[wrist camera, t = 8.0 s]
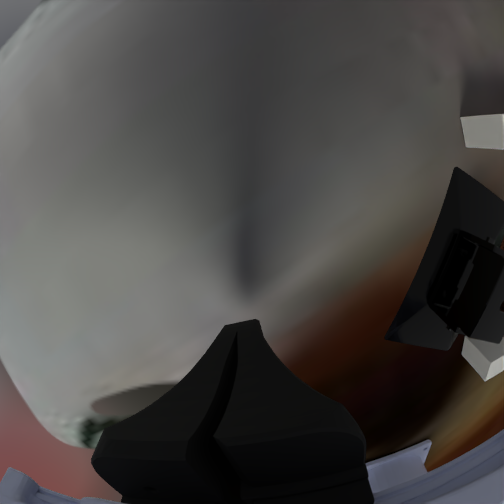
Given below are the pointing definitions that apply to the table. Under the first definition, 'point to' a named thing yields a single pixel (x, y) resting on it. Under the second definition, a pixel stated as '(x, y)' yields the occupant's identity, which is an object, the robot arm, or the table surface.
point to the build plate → (458, 273)
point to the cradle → (490, 137)
